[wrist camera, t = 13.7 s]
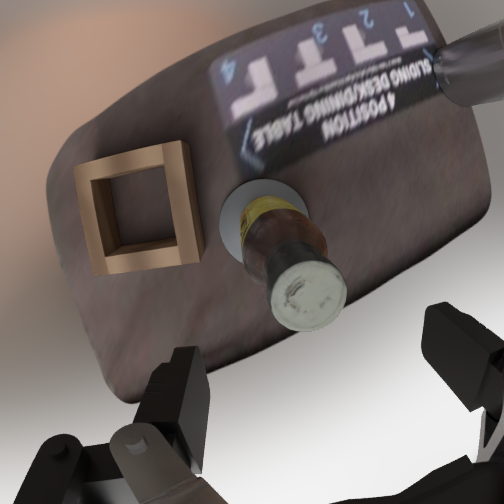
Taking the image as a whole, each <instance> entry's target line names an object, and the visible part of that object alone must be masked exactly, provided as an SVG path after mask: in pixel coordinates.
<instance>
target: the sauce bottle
mask: <svg viewBox="0 0 504 504" xmlns="http://www.w3.org/2000/svg"><path fill="white" fill-rule="evenodd" d="M239 228H240V242H241V251H242V259H243V264H244V267H245V270H246V272H247V274H248V275H249V277H250V278H251V279H252V280H253V281H254V282H255V283H257V284H258V285H260V286H262V287H265V288H267V289H266V293H267V300H268V302H269V306H270V308H271V311H272V313H273V315H274V317H275V318H276V319H277V320H278V321H279V323H281V324H282V325H283V326H285V327H287V328H288V329H290V330H295V331H301V332H310V331H314V330H319V329H321V328H323V327H325V326H326V325H328V324H330V323H331V322H332V321H333V320H334V319H335V318H336V317H337V316H338V315H339V313H340V311H341V310H342V309H343V307H344V304H345V302H346V296H347V287H346V283H345V280H344V278H343V276H342V274H341V272H340V271H339V270H338V268H337V267H336V266H335V265H334V264H333V263H332V262H331V261H330V260H329V259H328V250H327V244H326V240H325V237H324V236H323V234H322V232H321V231H320V230H319V228H318V227H317V226H316V225H315V224H314V223H313V222H312V221H311V220H310V219H309V218H308V217H307V216H306V215H305V214H303V213H302V212H301V211H299V210H298V209H297V208H295V207H294V206H293V205H291V204H290V203H289V202H287V201H286V200H284V199H282V198H280V197H276V196H263V197H258V198H255V199H254V200H253V201H251V202H250V203H249V204H248V205H247V206H246V208H245V209H244V210H243V212H242V214H241V217H240V223H239Z"/></svg>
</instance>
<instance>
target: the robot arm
mask: <svg viewBox="0 0 504 504" xmlns="http://www.w3.org/2000/svg"><path fill="white" fill-rule="evenodd" d="M433 68H434V73H435V76H436V79H437V81H438V83H439V85H440V87H441V89H442V90H443V92H444V93H445V94H446V95H447V97H449V98H450V99H451V100H452V101H453V102H455V103H456V104H458V105H461V106H465V107H468V106H473V105H478V104H484V103H490V102H495V101H501V100H504V19H501V20H499V21H497V22H495V23H493V24H490V25H488V26H486V27H483V28H481V29H479V30H477V31H475V32H473V33H471V34H468V35H466V36H464V37H462V38H460V39H458V40H456V41H454V42H452V43H450V44H448V45H446V46H444V47H442V48H440V49H439V50H438V51H437V52H436V53H435V55H434V59H433ZM421 349H422V354H423V356H424V358H425V359H426V360H427V362H428V363H429V364H430V365H431V366H432V367H433V369H434V370H435V371H436V372H437V373H438V374H439V376H440V377H441V378H442V379H443V380H444V381H445V383H447V385H448V386H449V387H450V389H451V390H452V391H453V392H454V393H455V395H456V396H457V397H458V398H459V399H460V401H461V402H462V403H463V404H464V405H465V407H466V408H467V409H468V410H469V412H472V411H474V410H476V409H478V408H480V407H482V406H483V407H484V408H485V409H484V411H483V414H482V417H481V418H482V419H481V430H480V440H479V449H478V456H477V460H476V463H471V461H470V459H469V458H468V456H467V455H465V456H463V457H461V458H459V459H457V460H455V461H453V462H451V463H449V464H446V465H444V466H442V467H440V468H438V469H436V470H433V471H432V472H430V473H429V474H428V475H426V476H425V477H423V478H422V479H420V480H419V481H417V482H416V483H415V484H413V485H412V486H410V487H408V488H407V489H405V490H404V491H402V492H401V493H399V494H396V495H392V496H383V497H374V498H363V499H348V500H344V501H340V502H335V503H331V504H504V340H502V339H501V338H500V337H498V336H497V335H496V334H494V333H493V332H492V331H490V330H489V329H486V327H485V326H484V325H482V324H481V323H479V322H478V321H477V320H476V319H475V318H473V317H472V316H470V315H468V314H465V313H462V312H460V311H459V310H458V309H456V308H455V307H453V306H452V305H451V304H449V303H448V302H442V303H438V304H434V305H430V306H428V307H427V308H426V311H425V317H424V326H423V334H422V341H421ZM209 404H210V388H209V383H208V379H207V375H206V371H205V368H204V364H203V360H202V356H201V352H200V349H199V347H198V346H187V347H176V348H175V349H174V352H173V355H172V357H171V360H170V362H169V363H161V364H160V365H159V366H158V367H157V368H156V369H155V370H154V371H153V372H152V374H151V377H150V379H149V382H148V385H147V387H146V389H145V393H144V394H143V397H142V399H141V402H140V405H139V407H138V410H137V412H136V415H135V418H134V420H133V423H132V424H129V425H126V426H124V427H122V428H120V429H119V430H118V431H116V432H115V434H113V436H112V438H111V440H110V443H105V444H99V445H92V446H85V447H83V446H82V444H81V443H80V441H79V440H78V439H77V438H76V437H75V436H72V435H69V434H59V435H55V436H53V437H51V438H49V439H47V440H46V441H45V442H44V443H43V444H42V445H41V447H40V449H39V451H38V453H37V455H36V457H35V459H34V461H33V463H32V465H31V467H30V469H29V471H28V473H27V475H26V477H25V479H24V481H23V483H22V485H21V488H20V490H19V492H18V494H17V496H16V498H15V501H14V503H13V504H228V503H227V502H226V501H225V500H224V499H223V498H222V497H221V496H220V495H219V494H218V493H217V492H216V491H215V490H214V489H213V488H212V487H211V486H210V485H209V484H208V483H207V482H206V481H205V480H204V479H203V478H202V477H196V475H195V474H202V466H203V457H204V448H205V438H206V430H207V421H208V413H209Z"/></svg>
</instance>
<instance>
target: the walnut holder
mask: <svg viewBox="0 0 504 504" xmlns="http://www.w3.org/2000/svg"><path fill="white" fill-rule="evenodd" d="M164 166H165V173H166V180H167V187H168V193H169V199H170V205H171V211H172V217H173V223H174V228H175V234H176V238H169V239H163V240H156V241H150V242H144V243H138V244H132V245H126V246H121V241H120V237H119V232H118V227H117V222H116V216H115V211H114V205H113V200H112V194H111V187H110V181H109V179H110V178H114V177H118V176H122V175H126V174H131V173H135V172H140V171H144V170H149V169H154V168H159V167H164ZM73 170H74V177H75V184H76V191H77V197H78V203H79V208H80V214H81V219H82V224H83V229H84V234H85V239H86V243H87V247H88V252H89V256H90V260H91V264H92V268H93V272H94V276H101V275H108V274H116V273H123V272H130V271H138V270H145V269H152V268H160V267H167V266H174V265H181V264H189V263H196V262H200V261H201V258H202V256H203V254H204V252H205V244H204V239H203V233H202V227H201V221H200V214H199V208H198V202H197V196H196V189H195V182H194V176H193V169H192V162H191V155H190V147H189V144H187V143H185V142H183V141H181V140H178V141H173V142H168V143H163V144H159V145H154V146H150V147H145V148H141V149H136V150H132V151H128V152H124V153H120V154H116V155H112V156H109V157H105V158H101V159H98V160H94V161H91V162H87V163H84V164H80V165H77V166H74V167H73Z"/></svg>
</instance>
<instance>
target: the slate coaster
mask: <svg viewBox="0 0 504 504" xmlns="http://www.w3.org/2000/svg"><path fill="white" fill-rule="evenodd" d="M263 196H276V197H280V198H282V199H284V200H286V201H287V202H289V203H290V204H291V205H293V206H294V207H295V208H297V209H298V210H299V211H301V212H302V213H303V214H305V215H306V216H307V217H308V218H309V216H308V211H307V208H306V206H305V203H304V202H303V200H302V198H301V197H300V196H299V195H298V193H297V192H296V191H295V190H293V189H292V188H291V187H289V186H288V185H286V184H284V183H282V182H279V181H276V180H271V179H258V180H253V181H250V182H247V183H245V184H243V185H241V186H239V187H238V188H237V189H235V190H234V191H233V192H232V193H231V194H230V195H229V197H228V198H227V200H226V201H225V203H224V205H223V207H222V210H221V213H220V218H219V230H220V235H221V238H222V241H223V243H224V245H225V247H226V248H227V250H228V251H229V252H230V254H231V255H232V256H233V257H235V258H236V259H237V260H239V261H240V262H242V263H243V259H242V251H241V242H240V228H239V223H240V217H241V214H242V212H243V210H244V209H245V208H246V206H247V205H248V204H249V203H250V202H251V201H253V200H254V199H255V198H258V197H263Z"/></svg>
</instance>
